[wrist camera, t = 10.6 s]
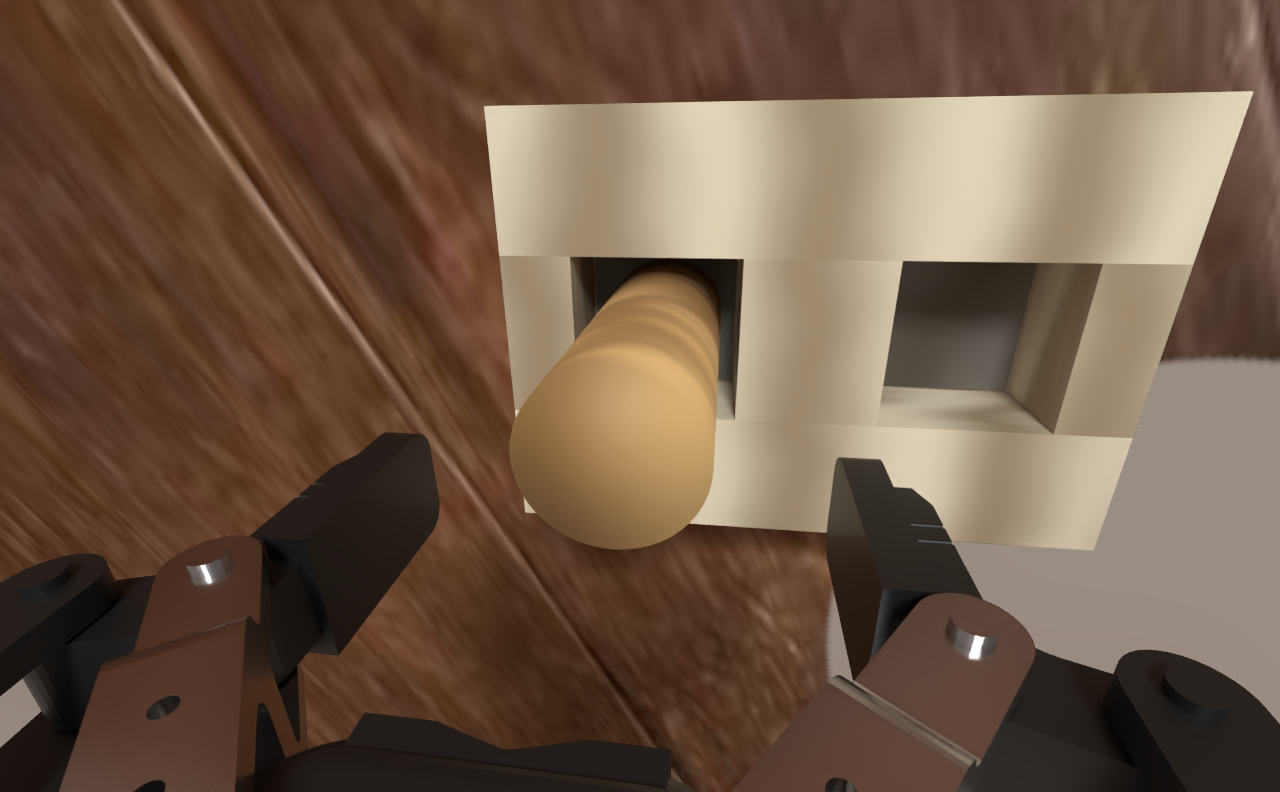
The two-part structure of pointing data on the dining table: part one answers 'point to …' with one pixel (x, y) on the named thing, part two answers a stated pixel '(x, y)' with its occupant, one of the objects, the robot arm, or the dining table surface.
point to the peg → (627, 415)
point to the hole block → (883, 282)
